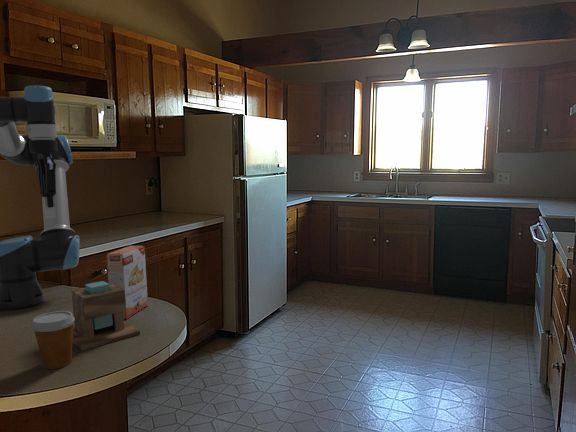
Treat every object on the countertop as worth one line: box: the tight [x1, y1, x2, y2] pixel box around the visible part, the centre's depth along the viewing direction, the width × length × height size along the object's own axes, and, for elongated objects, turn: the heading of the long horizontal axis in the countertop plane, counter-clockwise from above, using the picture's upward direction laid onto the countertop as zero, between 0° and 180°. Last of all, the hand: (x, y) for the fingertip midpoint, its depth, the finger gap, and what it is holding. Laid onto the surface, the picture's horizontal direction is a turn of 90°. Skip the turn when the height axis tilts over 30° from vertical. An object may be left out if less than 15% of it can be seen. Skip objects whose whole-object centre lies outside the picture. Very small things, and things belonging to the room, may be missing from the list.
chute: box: [71, 282, 141, 352], centre depth 135 cm, size 16×16×13 cm
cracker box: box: [106, 245, 149, 320], centre depth 153 cm, size 14×6×21 cm, turn 168°
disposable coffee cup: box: [31, 310, 75, 370], centre depth 116 cm, size 10×10×12 cm
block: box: [84, 280, 113, 330], centre depth 135 cm, size 5×5×12 cm
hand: (50, 217), depth 145 cm, fingers closed
